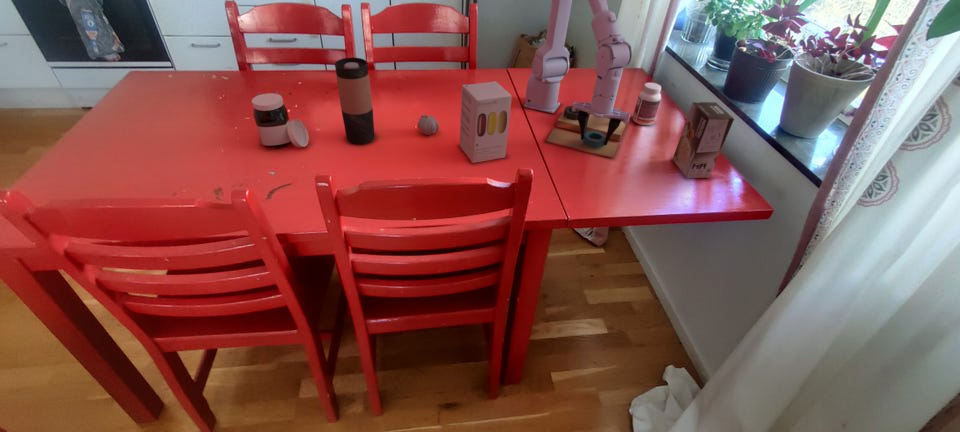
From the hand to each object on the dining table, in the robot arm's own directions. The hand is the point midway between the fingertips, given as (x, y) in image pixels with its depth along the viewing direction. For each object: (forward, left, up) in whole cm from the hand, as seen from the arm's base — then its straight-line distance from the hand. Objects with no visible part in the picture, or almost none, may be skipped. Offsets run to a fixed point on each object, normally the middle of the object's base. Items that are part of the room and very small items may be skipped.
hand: (593, 140), depth 122 cm
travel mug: (-56, -26, -2) cm, 62 cm away
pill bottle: (+10, +22, -2) cm, 24 cm away
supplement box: (-25, -17, -2) cm, 30 cm away
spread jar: (-71, -37, -2) cm, 80 cm away
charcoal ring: (-9, +11, 0) cm, 14 cm away
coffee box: (+25, +1, -2) cm, 25 cm away
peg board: (-3, +11, -2) cm, 12 cm away
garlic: (-42, -15, -2) cm, 45 cm away
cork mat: (-3, 0, -2) cm, 3 cm away
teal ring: (0, 0, 0) cm, 0 cm away
